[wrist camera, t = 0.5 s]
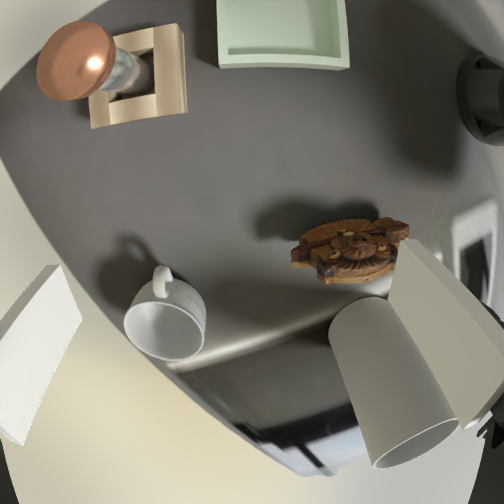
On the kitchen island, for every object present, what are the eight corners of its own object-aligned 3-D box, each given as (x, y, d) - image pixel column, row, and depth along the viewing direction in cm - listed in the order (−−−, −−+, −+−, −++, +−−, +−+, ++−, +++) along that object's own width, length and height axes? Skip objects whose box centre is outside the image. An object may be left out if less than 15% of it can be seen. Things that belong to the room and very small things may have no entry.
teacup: (200, 331, 45) (197, 369, 38) (135, 316, 43) (122, 352, 36) (219, 257, 39) (217, 292, 32) (142, 239, 37) (124, 270, 30)
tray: (331, -23, 22) (340, -33, 19) (338, 70, 29) (349, 67, 26) (216, -28, 22) (215, -40, 19) (220, 68, 28) (218, 64, 25)
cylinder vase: (324, 306, 45) (379, 448, 22) (394, 286, 44) (474, 403, 22) (328, 356, 50) (367, 476, 28) (389, 337, 50) (444, 444, 28)
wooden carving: (392, 200, 37) (431, 228, 28) (393, 229, 39) (430, 262, 30) (280, 229, 38) (295, 268, 29) (287, 258, 40) (302, 303, 31)
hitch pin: (163, 52, 26) (107, 9, 11) (165, 96, 28) (108, 87, 14) (118, 61, 25) (37, 37, 11) (120, 105, 28) (37, 110, 13)
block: (183, 34, 26) (176, 23, 21) (187, 112, 30) (180, 112, 26) (104, 51, 25) (86, 44, 21) (108, 125, 30) (91, 129, 25)
